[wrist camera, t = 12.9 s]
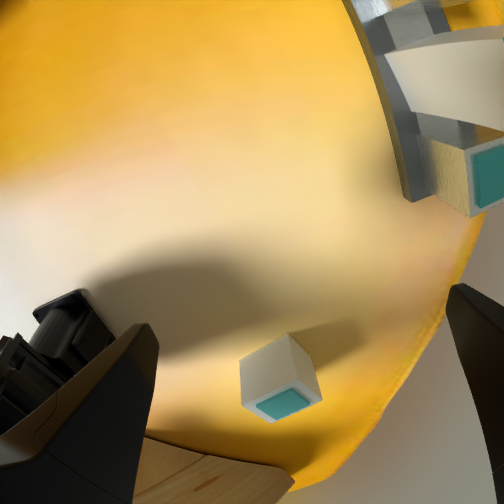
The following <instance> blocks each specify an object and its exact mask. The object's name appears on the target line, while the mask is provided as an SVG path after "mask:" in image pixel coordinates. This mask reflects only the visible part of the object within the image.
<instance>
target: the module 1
mask: <svg viewBox="0 0 504 504" xmlns="http://www.w3.org/2000/svg"><path fill="white" fill-rule="evenodd" d="M239 363H240V383H241V403H242V406H243V407H245V408H247V409H248V410H250V411H251V412H253V413H254V414H256V415H258V416H259V417H261V418H262V419H264V420H266V421H267V422H269V423H274V422H276V421H278V420H281V419H283V418H285V417H288V416H290V415H292V414H294V413H297V412H299V411H301V410H303V409H305V408H307V407H309V406H312V405H314V404H316V403H318V402H320V401H322V400H323V399H322V395H321V392H320V388H319V384H318V381H317V377H316V373H315V370H314V366H313V363H312V359H311V357H310V356H309V355H308V354H307V353H306V352H305V351H304V350H303V349H302V348H301V347H300V346H299V345H298V344H297V342H296V341H295V340H294V339H293V338H292V337H291V336H290V335H289V334H288V333H287V334H285V335H283V336H282V337H280V338H278V339H276V340H275V341H273V342H271V343H269V344H268V345H266V346H264V347H262V348H260V349H259V350H257V351H255V352H253V353H251V354H250V355H248V356H246V357H244V358H242V359H240V360H239Z"/></svg>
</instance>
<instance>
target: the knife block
mask: <svg viewBox="0 0 504 504" xmlns="http://www.w3.org/2000/svg"><path fill="white" fill-rule="evenodd" d="M294 483H295V480H294V479H293V478H292V477H291V476H290V475H289V474H288V473H287V472H286V471H285V470H283V469H282V468H277V467H272V466H266V465H259V464H253V463H246V462H241V461H235V460H230V459H225V458H220V457H215V456H211V455H206V456H205V455H204V454H200V453H196V452H192V451H188V450H185V449H181V448H178V447H174V446H171V445H168V444H164V443H161V442H158V441H155V440H152V439H149V438H146V437H144V440H143V445H142V450H141V455H140V461H139V466H138V472H137V477H136V483H135V489H134V495H133V501H132V504H276V503H277V502H278V501H279V500H280V499H281V498H282V497H283V496H284V495H285V493H286V492H287V491H288V490H289V489H290V488H291V487H292V485H293V484H294Z"/></svg>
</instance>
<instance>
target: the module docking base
mask: <svg viewBox="0 0 504 504" xmlns="http://www.w3.org/2000/svg"><path fill="white" fill-rule="evenodd" d="M471 1H476V0H342V2H343V4H344V6H345V8H346V10H347V12H348V15H349V17H350V19H351V21H352V24H353V26H354V28H355V31H356V33H357V36H358V38H359V41H360V43H361V46H362V48H363V51H364V54H365V56H366V59H367V62H368V64H369V67H370V70H371V73H372V76H373V79H374V82H375V85H376V88H377V91H378V94H379V97H380V100H381V104H382V107H383V111H384V114H385V117H386V121H387V125H388V128H389V132H390V136H391V140H392V144H393V148H394V152H395V157H396V161H397V166H398V170H399V175H400V180H401V185H402V190H403V196H404V198H406V199H407V200H408V201H410V202H411V203H413V202H416V201H418V200H421V199H423V198H426V197H428V196H431V195H434V196H436V197H437V198H439V199H441V200H442V201H444V202H446V203H447V204H449V205H450V206H452V207H453V208H455V209H457V210H458V211H460V212H461V213H463V214H464V215H466V216H467V217H469V218H471V217H474V216H476V215H478V214H480V213H482V212H484V211H486V210H488V209H490V208H492V207H494V206H496V205H498V204H501V203H503V202H504V132H502V131H499V130H495V129H491V128H488V127H484V126H480V125H476V124H473V123H469V122H465V121H460V120H456V119H451V118H446V117H441V116H435V115H430V114H424V113H418V112H412V111H411V110H410V107H409V105H408V103H407V100H406V98H405V96H404V94H403V92H402V89H401V87H400V85H399V83H398V81H397V79H396V77H395V75H394V73H393V71H392V69H391V67H390V65H389V63H388V61H387V59H386V57H385V56H384V54H386V53H388V52H391V51H393V50H396V49H398V48H401V47H403V46H406V45H408V44H411V43H413V42H416V41H419V40H421V39H424V38H427V37H430V36H432V35H435V34H439V33H444V32H450V28H449V25H448V22H447V20H446V17H445V15H444V12H443V10H442V9H443V8H446V7H450V6H454V5H458V4H462V3H467V2H471Z"/></svg>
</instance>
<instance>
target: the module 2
mask: <svg viewBox="0 0 504 504" xmlns="http://www.w3.org/2000/svg"><path fill="white" fill-rule="evenodd" d="M384 56H385V57H386V59H387V61H388V63H389V65H390V67H391V69H392V71H393V73H394V75H395V77H396V79H397V81H398V83H399V85H400V87H401V89H402V92H403V94H404V96H405V98H406V100H407V103H408V105H409V107H410V110H411V111H412V112H418V113H424V114H430V115H435V116H441V117H446V118H451V119H456V120H460V121H465V122H469V123H473V124H477V125H481V126H485V127H489V128H493V129H497V130H500V131H504V25H498V26H487V27H478V28H470V29H463V30H456V31H450V32H444V33H439V34H435V35H432V36H430V37H427V38H424V39H421V40H419V41H416V42H413V43H411V44H408V45H406V46H403V47H401V48H398V49H396V50H393V51H391V52H388V53H386V54H384Z"/></svg>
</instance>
